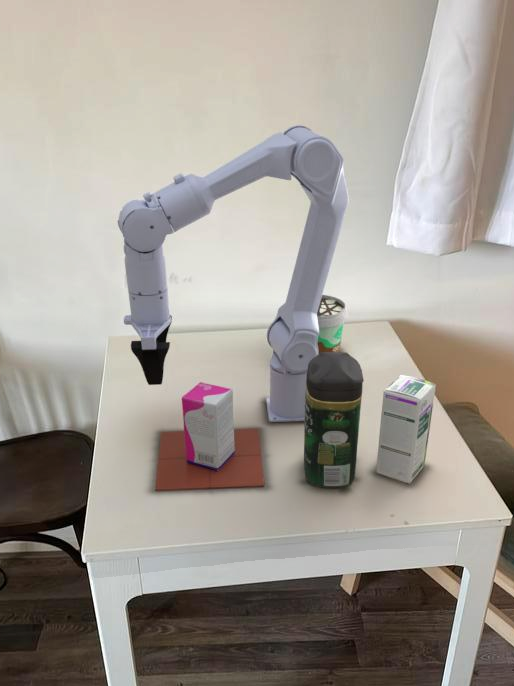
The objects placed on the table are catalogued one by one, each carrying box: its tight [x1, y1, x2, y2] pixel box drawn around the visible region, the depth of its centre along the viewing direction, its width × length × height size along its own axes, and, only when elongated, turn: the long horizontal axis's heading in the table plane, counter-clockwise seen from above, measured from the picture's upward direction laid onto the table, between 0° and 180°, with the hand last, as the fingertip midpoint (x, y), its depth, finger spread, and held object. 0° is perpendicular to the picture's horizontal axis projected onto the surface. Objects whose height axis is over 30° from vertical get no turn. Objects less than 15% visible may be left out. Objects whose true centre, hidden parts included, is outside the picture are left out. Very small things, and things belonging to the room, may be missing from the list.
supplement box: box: [181, 381, 235, 471], centre depth 105 cm, size 6×6×12 cm
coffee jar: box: [303, 351, 364, 489], centre depth 100 cm, size 10×8×19 cm
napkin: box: [155, 428, 265, 492], centre depth 108 cm, size 16×16×1 cm
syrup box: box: [375, 374, 436, 485], centre depth 102 cm, size 6×6×14 cm
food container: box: [317, 294, 349, 354], centre depth 136 cm, size 12×6×10 cm, turn 168°
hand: (156, 372), depth 110 cm, fingers open, 7 cm apart
